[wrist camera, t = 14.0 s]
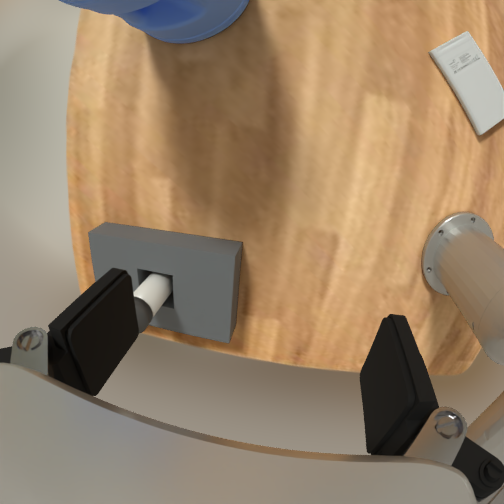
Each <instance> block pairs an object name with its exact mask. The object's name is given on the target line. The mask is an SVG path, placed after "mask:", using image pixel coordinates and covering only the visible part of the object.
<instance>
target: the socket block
mask: <svg viewBox="0 0 504 504" xmlns="http://www.w3.org/2000/svg"><path fill="white" fill-rule="evenodd" d="M88 234H89V242H90V250H91V257H92V263H93V269H94V275H95V281H97V280H99V279H100V278H101V277H102V276H103V275H104V274H105V273H107V272H108V271H109V270H110V269H111V268H118V269H123V270H126V271H127V272H128V275H130V276H131V278H132V286H133V292H134V291H135V290H136V289H137V288H138V287H139V286H140V285H141V284H142V283H143V282H144V281H145V279H146V278H147V277H148V276H149V275H150V274H151V273H152V271H153V272H158V273H163V274H168V275H173V291H172V292H171V294H170V295H169V296H168V298H167V299H166V300H165V302H164V303H163V304H162V306H161V307H160V308H159V310H158V311H157V313H156V314H155V315H154V317H153V319H152V321H151V322H150V323H149V325H151V326H155V327H159V328H163V329H167V330H171V331H175V332H179V333H184V334H188V335H192V336H197V337H201V338H206V339H211V340H215V341H220V342H225V343H230V340H231V337H232V334H233V331H234V329H235V326H236V316H237V304H238V291H239V279H240V267H241V255H242V243H243V242H238V241H231V240H225V239H218V238H211V237H205V236H198V235H191V234H184V233H177V232H170V231H163V230H157V229H150V228H143V227H136V226H129V225H121V224H114V223H107V222H105V223H103V224H101V225H100V226H98V227H96V228H95V229H93V230H91V231H90V232H88Z"/></svg>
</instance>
